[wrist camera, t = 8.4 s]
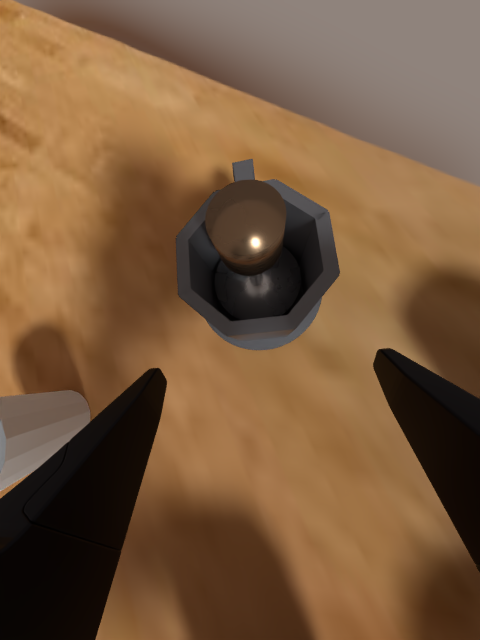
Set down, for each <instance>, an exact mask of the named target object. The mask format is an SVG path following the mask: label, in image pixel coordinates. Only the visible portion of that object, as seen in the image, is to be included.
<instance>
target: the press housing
mask: <svg viewBox="0 0 480 640" xmlns="http://www.w3.org/2000/svg"><path fill="white" fill-rule="evenodd" d="M232 165H233V176H234V180H235V182H237V181H241V180H255V177H254V167H253V159H249V160H244V161H240V162H235V163H232ZM262 182H265V183H267V184H269V185H271V186H272V187H274V188H275V189H276V190H277V191H278V192H279V193H280V195H281V196H282V198H283V200H284V202H285V206H286V223H285V231H284V239H283V247H285V248H286V249H287V250H288V251H289V252H290V253H291V254H292V255H293V256H294V258H295V259H296V261H297V263H298V266H299V268H300V273H301V285H300V290H299V293H298V296H297V298H296V300H295V301H294V303H293V305H292V306H291V307H290V308H289V309H288V311H287V312H285V313H284V314H283V315H282V316H275V317H267V318H258V319H249V320H239V319H237V318H235V317H234V316H232V315H231V314H230V313H229V312H228V311H227V310H225V308H224V307H223V306H222V305H221V303H220V301H219V300H218V297H217V295H216V291H215V274H216V270H217V267H218V265H219V263H220V261H221V258H220V256H219V254H218V252H217V250H216V248H215V247H214V245H213V243H212V241H211V239H210V237H209V235H208V233H207V230H206V225H205V217H206V211H207V208H208V206H209V204H210V202H211V200H212V199H213V197H214V196H215V195H216V194H217V193H218V192H219V191H220V190H216V191H215V192H213V193H212V194H211V196H210V197H209V198H208V199H207V200H206V202H205V203H204V204H203V205H202V206H201V208H200V209H199V210H198V211H197V212H196V213H195V215H194V216H193V217H192V218H191V219H190V221H189V222H188V223H187V224H186V225H185V227H184V228H183V229H182V230H181V231H180V232H179V234H178V235H177V236H176V237H177V238H176V257H177V281H178V295H179V297H180V298H181V299H183V300H184V301H185V302H186V303H187V304H188V305H190V306H191V307H192V308H193V309H194V310H195V311H197V312H198V313H199V314H200V315H201V316H203V317H204V318H205V319H206V321H207V322H208V324H209V325H210V327H211V328H212V329H213V330H214V331H215V332H216V333H217V334H218V335H219V336H220V337H221V338H223V339H224V340H225V341H227V342H229V343H231V344H233V345H235V346H238V347H241V348H245V349H251V350H268V349H273V348H277V347H280V346H283V345H285V344H287V343H289V342H291V341H293V340H294V339H296V338H297V337H298V336H300V335H301V334H302V333H303V332H304V331H305V330H306V329H307V328H308V327H309V326H310V324H311V323H312V321H313V320H314V318H315V316H316V314H317V312H318V310H319V307H320V304H321V299H322V296H323V295H324V294H325V292H326V291H327V290H328V289H329V288H330V286H331V285H332V284H333V283H334V281H335V280H336V279H337V278H338V276H339V274H340V270H339V265H338V259H337V253H336V248H335V242H334V237H333V231H332V225H331V220H330V214H329V212H328V210H327V209H325V208H324V207H322V206H320V205H318V204H317V203H315V202H313V201H312V200H310V199H308V198H307V197H305V196H303V195H302V194H300V193H298V192H297V191H295V190H293V189H292V188H290V187H288V186H287V185H285V184H283V183H282V182H280V181H278V180H277V179H276V180H275V179H272V180H267V181H262Z"/></svg>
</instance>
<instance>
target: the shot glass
mask: <svg viewBox="0 0 480 640" xmlns="http://www.w3.org/2000/svg"><path fill="white" fill-rule="evenodd" d="M89 422H90V409H89V406H88V403H87V401H86V400H85V398H84V397H83V396H82V395H81V394H80V393H78V392H75V391H73V390H64V391H54V392H44V393H34V394H24V395H15V396H5V397H0V491H1V490H3V489H5V488H6V487H8V486H10V485H11V484H13V483H15V482H16V481H18V480H20V479H21V478H23V477H25V476H26V475H28V474H30V473H31V472H33V471H35V470H36V469H37V468H38V467H40V466H41V465H42V464H43V463H44V462H45V461H47V460H48V459H49V458H50V457H51V456H52V455H53V454H55V453H56V452H57V451H58V450H59V449H60V448H61V447H63V446H64V445H65V444H66V443H67V442H69V441H70V439H72V438H73V437H74V436H75V435H76V434H77V433H78V432H79V431H80V430H82V429H83V428H84V427H85V426H86V425H87V424H88V423H89Z"/></svg>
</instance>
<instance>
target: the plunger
mask: <svg viewBox="0 0 480 640" xmlns="http://www.w3.org/2000/svg"><path fill="white" fill-rule="evenodd" d="M285 223H286V206H285V202H284V200H283V198H282V196H281V195H280V193H279V192H278V191H277V190H276V189H275V188H274V187H272V186H271V185H269V184H267V183H265V182H262V181H258V180H241V181H237V182H234V183H231V184H229V185H227V186H226V187H224V188H223V189H221V190H220V191H219V192H218V193H217V194H216V195H215V196H214V197H213V199H212V200H211V202H210V204H209V206H208V208H207V211H206V217H205V225H206V230H207V233H208V235H209V237H210V239H211V241H212V243H213V245H214V247H215V248H216V250H217V252H218V254H219V256H220V258H221V261H220V263H219V265H218V267H217V270H216V274H215V291H216V295H217V297H218V300H219V301H220V303H221V305H222V306H223V307H224V308H225V310H227V311H228V312H229V313H230V314H231V315H232V316H234V317H235V318H237V319H239V320H249V319H258V318H267V317H275V316H282V315H283V314H284V313H285V312H287V311H288V309H289V308H290V307H291V306H292V305H293V303H294V301H295V300H296V298H297V296H298V293H299V290H300V285H301V273H300V268H299V266H298V263H297V261H296V259H295V258H294V256H293V255H292V254H291V253H290V252H289V251H288V250H287V249H286V248H285V247H283V239H284V231H285Z"/></svg>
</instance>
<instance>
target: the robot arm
mask: <svg viewBox="0 0 480 640" xmlns="http://www.w3.org/2000/svg"><path fill="white" fill-rule="evenodd" d="M373 367H374V370H375V373H376V375H377V378H378V380H379V383H380V385H381V388H382V390H383V392H384V395H385V397H386V400H387V402H388V404H389V406H390V408H391V410H392V412H393V414H394V416H395V418H396V420H397V422H398V423H399V425H400V427H401V429H402V431H403V433H404V434H405V436H406V438H407V440H408V442H409V444H410V445H411V447H412V449H413V451H414V453H415V455H416V456H417V458H418V460H419V462H420V464H421V466H422V467H423V469H424V471H425V473H426V475H427V477H428V478H429V480H430V482H431V484H432V486H433V488H434V489H435V491H436V493H437V495H438V497H439V499H440V500H441V502H442V504H443V506H444V508H445V510H446V512H447V513H448V515H449V517H450V519H451V521H452V523H453V524H454V526H455V528H456V530H457V532H458V534H459V535H460V537H461V539H462V541H463V543H464V545H465V546H466V548H467V550H468V552H469V554H470V556H471V557H472V559H473V561H474V563H475V564H476V567H477V569H478V571H479V573H480V399H479V398H477V397H475V396H474V395H472V394H470V393H468V392H467V391H465V390H463V389H461V388H460V387H458V386H456V385H454V384H453V383H451V382H449V381H447V380H446V379H444V378H442V377H440V376H439V375H437V374H435V373H433V372H432V371H430V370H428V369H426V368H425V367H423V366H421V365H419V364H418V363H416V362H414V361H412V360H411V359H409V358H407V357H405V356H404V355H402V354H400V353H398V352H397V351H395V350H393V349H391V348H386V349H379V350H378V351H377V353H376V357H375V360H374V363H373ZM166 386H167V380H166V378H165V376H164V375H163V373H162V371H161V370H160V369H159V368H151V369H149V370H148V371H146V372H145V373H144V374H143V375H142V376H141V377H140V378H139V379H137V380H136V381H135V382H134V383H133V384H132V385H131V386H130V387H129V388H127V389H126V390H125V391H124V392H123V393H122V394H121V395H120V396H118V397H117V398H116V399H115V400H114V401H113V402H112V403H111V404H110V405H108V406H107V407H106V408H105V409H104V410H103V411H102V412H101V413H99V414H98V415H97V416H96V417H95V418H94V419H93V420H92V421H91V422H89V423H88V424H87V425H86V426H85V427H84V428H83V429H82V430H80V431H79V432H78V433H77V434H76V435H75V436H74V437H73V438H72V439H70V441H69V442H67V443H66V444H65V445H64V446H63V447H61V448H60V449H59V450H58V451H57V452H56V453H55V454H53V455H52V456H51V457H50V458H49V459H48V460H47V461H45V462H44V463H43V464H42V465H41V466H40V467H38V468H37V469H36V470H35V471H34V472H32V473H31V474H30V475H29V476H28V477H26V478H25V479H24V480H23V481H22V482H20V483H19V484H18V485H17V486H15V487H14V488H13V489H12V490H11V491H9V492H8V493H7V494H6V495H4V496H3V497H2V498H1V499H0V640H95V639H96V635H97V632H98V628H99V625H100V622H101V618H102V615H103V612H104V608H105V605H106V601H107V598H108V595H109V591H110V588H111V585H112V581H113V578H114V574H115V571H116V568H117V564H118V561H119V557H120V554H121V550H122V547H123V543H124V540H125V537H126V533H127V530H128V526H129V523H130V520H131V516H132V513H133V510H134V506H135V503H136V499H137V496H138V493H139V489H140V486H141V482H142V479H143V476H144V472H145V469H146V466H147V462H148V459H149V455H150V452H151V449H152V445H153V442H154V438H155V435H156V432H157V428H158V425H159V421H160V417H161V413H162V408H163V402H164V397H165V392H166Z"/></svg>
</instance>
